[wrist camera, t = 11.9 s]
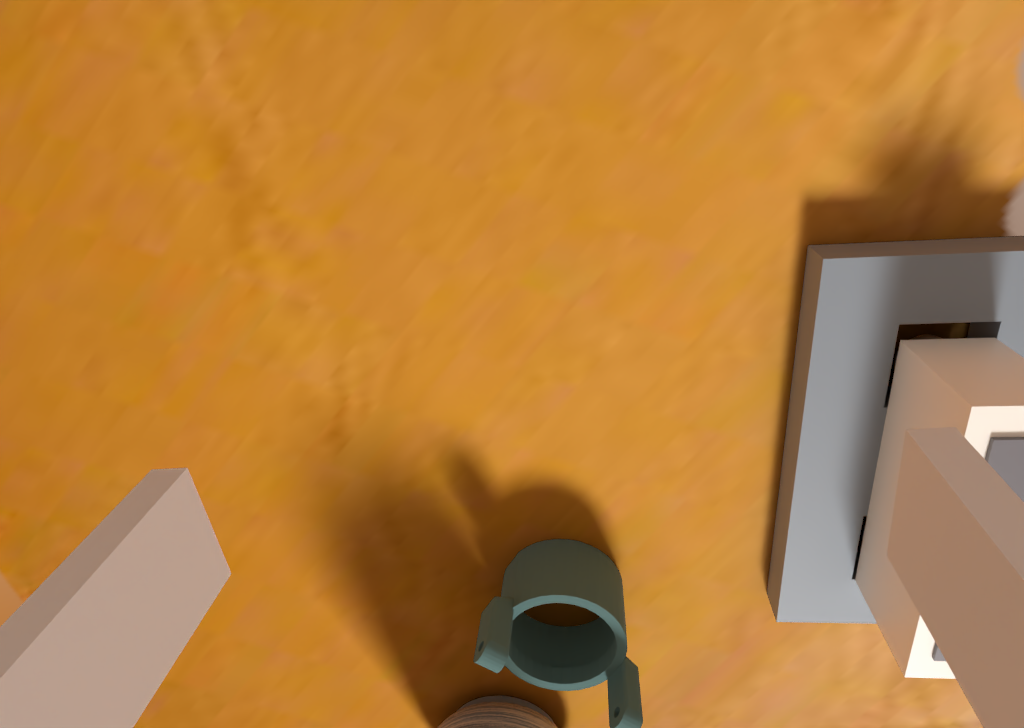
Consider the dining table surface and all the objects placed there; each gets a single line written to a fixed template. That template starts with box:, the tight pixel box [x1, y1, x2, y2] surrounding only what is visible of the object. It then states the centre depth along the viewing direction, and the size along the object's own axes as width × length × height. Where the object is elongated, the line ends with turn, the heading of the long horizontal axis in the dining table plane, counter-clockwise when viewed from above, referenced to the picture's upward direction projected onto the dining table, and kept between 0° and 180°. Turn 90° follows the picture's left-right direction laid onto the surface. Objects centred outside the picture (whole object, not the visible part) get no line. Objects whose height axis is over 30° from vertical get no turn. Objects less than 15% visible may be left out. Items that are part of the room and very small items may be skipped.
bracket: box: [473, 539, 643, 728], centre depth 43 cm, size 9×9×9 cm
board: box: [767, 236, 1024, 624], centre depth 38 cm, size 24×13×2 cm, turn 4°
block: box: [855, 334, 1024, 679], centre depth 35 cm, size 16×4×9 cm, turn 4°
